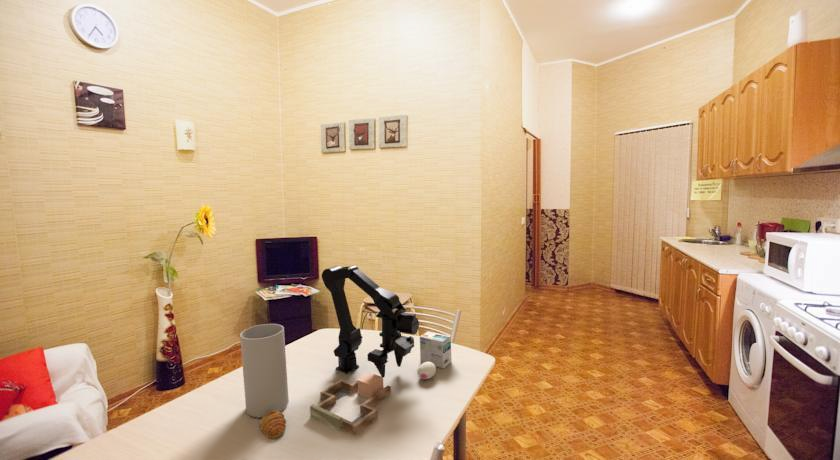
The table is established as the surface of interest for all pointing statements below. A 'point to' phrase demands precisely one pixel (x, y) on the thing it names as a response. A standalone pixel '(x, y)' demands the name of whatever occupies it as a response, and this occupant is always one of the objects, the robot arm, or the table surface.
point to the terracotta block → (370, 385)
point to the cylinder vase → (264, 369)
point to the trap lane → (338, 422)
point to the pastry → (273, 424)
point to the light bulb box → (435, 349)
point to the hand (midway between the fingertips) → (391, 371)
